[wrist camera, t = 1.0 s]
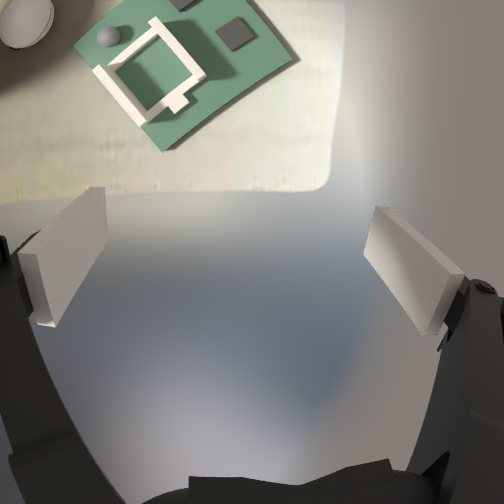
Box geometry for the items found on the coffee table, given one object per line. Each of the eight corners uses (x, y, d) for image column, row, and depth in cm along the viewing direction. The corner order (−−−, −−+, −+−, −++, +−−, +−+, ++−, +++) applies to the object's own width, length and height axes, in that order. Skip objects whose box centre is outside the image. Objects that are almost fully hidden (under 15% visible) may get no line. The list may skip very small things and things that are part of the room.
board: (77, 46, 28) (59, 42, 24) (198, -46, 24) (195, -62, 20) (164, 150, 35) (156, 158, 31) (290, 60, 32) (299, 55, 28)
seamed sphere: (11, 26, 24) (-21, 21, 18) (53, -11, 23) (24, -25, 17) (37, 76, 29) (4, 77, 22) (80, 38, 28) (52, 30, 21)
